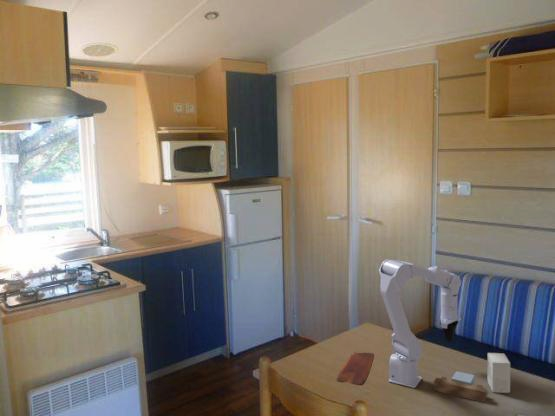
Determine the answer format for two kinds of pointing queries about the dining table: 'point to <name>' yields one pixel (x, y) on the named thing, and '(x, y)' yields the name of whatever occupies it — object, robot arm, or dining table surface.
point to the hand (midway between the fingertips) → (449, 340)
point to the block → (464, 378)
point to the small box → (498, 372)
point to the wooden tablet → (356, 368)
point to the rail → (460, 389)
